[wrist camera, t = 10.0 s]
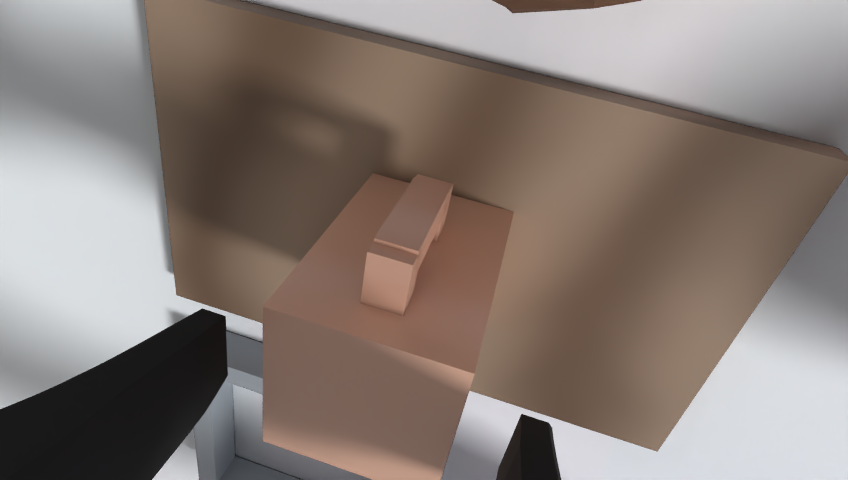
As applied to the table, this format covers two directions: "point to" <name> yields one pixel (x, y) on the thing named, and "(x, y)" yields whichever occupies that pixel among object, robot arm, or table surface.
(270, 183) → the board
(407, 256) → the peach cube with handle
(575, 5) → the donut
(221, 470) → the collar
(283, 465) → the table surface
